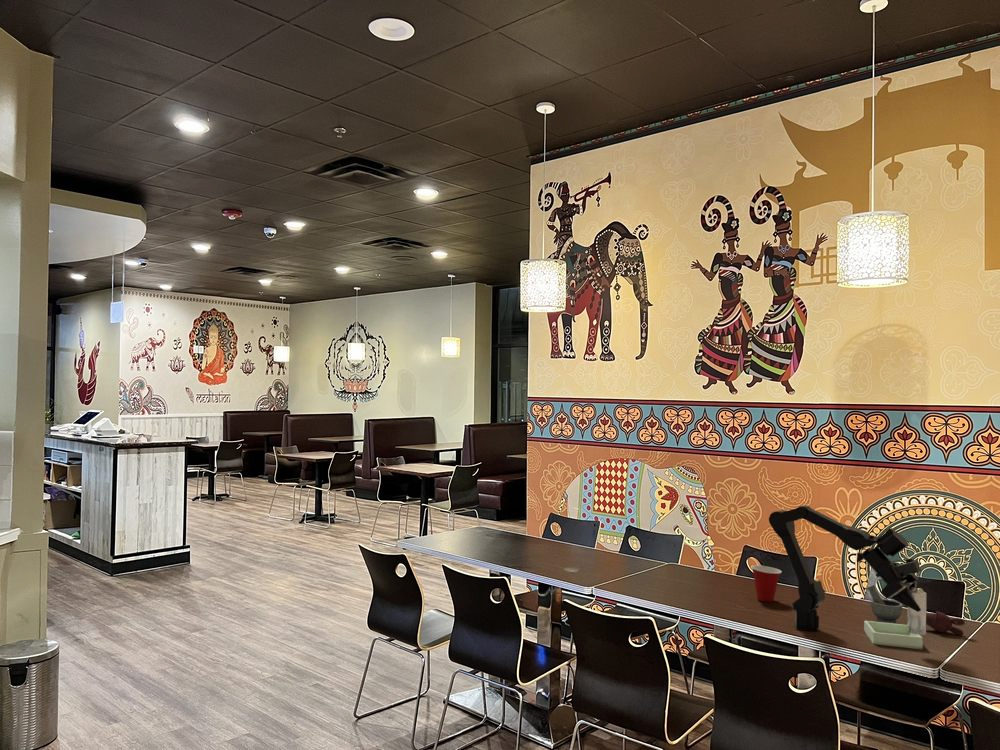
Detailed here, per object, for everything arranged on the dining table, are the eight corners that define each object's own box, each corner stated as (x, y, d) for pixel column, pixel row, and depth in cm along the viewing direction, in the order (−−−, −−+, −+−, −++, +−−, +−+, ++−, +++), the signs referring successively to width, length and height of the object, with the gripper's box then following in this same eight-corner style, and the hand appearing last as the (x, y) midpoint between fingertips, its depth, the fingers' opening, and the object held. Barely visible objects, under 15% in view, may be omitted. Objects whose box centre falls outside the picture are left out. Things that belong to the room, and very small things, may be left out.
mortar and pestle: (906, 623, 249) (906, 588, 249) (897, 629, 242) (897, 592, 243) (871, 616, 257) (871, 581, 257) (861, 621, 250) (862, 586, 251)
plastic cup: (783, 604, 269) (784, 572, 269) (753, 602, 271) (753, 569, 271) (778, 597, 279) (779, 565, 280) (749, 595, 281) (749, 563, 282)
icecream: (910, 610, 242) (963, 623, 233) (914, 600, 247) (966, 613, 238) (909, 629, 243) (962, 643, 234) (913, 619, 249) (964, 632, 240)
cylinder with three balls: (909, 633, 216) (910, 589, 216) (905, 629, 220) (906, 585, 221) (927, 635, 215) (928, 591, 215) (923, 630, 219) (923, 587, 220)
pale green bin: (873, 644, 225) (873, 632, 225) (864, 631, 238) (864, 620, 238) (922, 649, 221) (922, 637, 222) (910, 636, 234) (910, 625, 235)
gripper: (894, 553, 214) (936, 599, 206) (911, 546, 228) (951, 588, 220) (865, 575, 219) (905, 621, 211) (883, 567, 233) (921, 609, 225)
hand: (922, 609), depth 217 cm, fingers closed on cylinder with three balls, 5 cm apart
